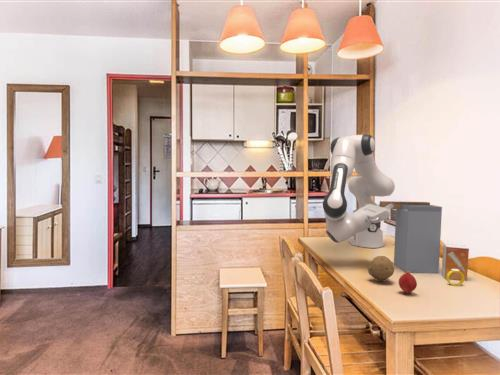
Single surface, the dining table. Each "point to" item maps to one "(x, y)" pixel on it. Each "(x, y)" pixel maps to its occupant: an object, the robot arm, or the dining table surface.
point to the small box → (455, 261)
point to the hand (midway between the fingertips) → (389, 204)
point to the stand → (418, 238)
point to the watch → (452, 272)
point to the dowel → (399, 204)
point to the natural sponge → (381, 268)
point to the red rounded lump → (407, 282)
